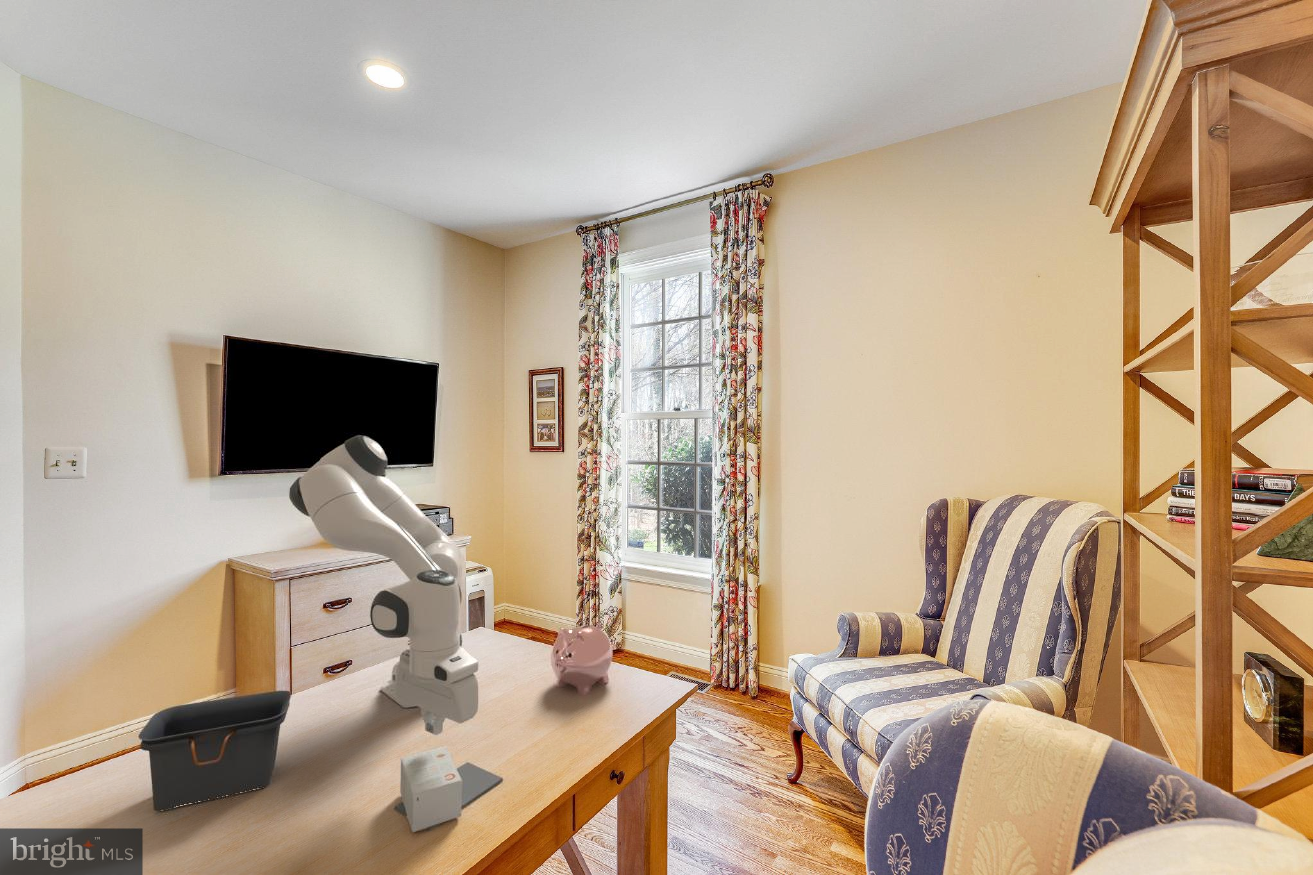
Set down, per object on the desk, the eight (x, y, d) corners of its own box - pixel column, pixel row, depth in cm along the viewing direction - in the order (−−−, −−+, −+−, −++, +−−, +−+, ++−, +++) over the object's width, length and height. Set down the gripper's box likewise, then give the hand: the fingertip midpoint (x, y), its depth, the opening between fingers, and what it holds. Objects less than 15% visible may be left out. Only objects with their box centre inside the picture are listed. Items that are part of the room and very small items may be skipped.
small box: (399, 791, 101) (411, 834, 90) (400, 757, 101) (411, 795, 90) (445, 778, 105) (462, 816, 94) (446, 744, 106) (462, 779, 95)
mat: (394, 809, 97) (394, 806, 97) (467, 764, 111) (467, 761, 111) (430, 830, 92) (430, 827, 92) (502, 780, 105) (502, 777, 105)
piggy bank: (535, 690, 144) (536, 629, 144) (579, 666, 159) (580, 611, 160) (581, 705, 136) (582, 640, 136) (623, 679, 151) (623, 621, 152)
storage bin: (291, 755, 113) (293, 685, 113) (282, 798, 100) (284, 719, 100) (156, 784, 103) (158, 708, 103) (125, 837, 89) (127, 749, 90)
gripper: (386, 652, 107) (385, 723, 106) (456, 676, 96) (455, 755, 96) (415, 642, 112) (414, 710, 112) (484, 664, 101) (483, 739, 101)
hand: (433, 731), depth 104 cm, fingers closed
